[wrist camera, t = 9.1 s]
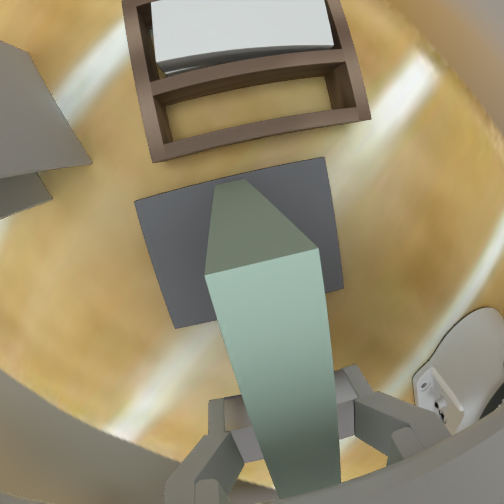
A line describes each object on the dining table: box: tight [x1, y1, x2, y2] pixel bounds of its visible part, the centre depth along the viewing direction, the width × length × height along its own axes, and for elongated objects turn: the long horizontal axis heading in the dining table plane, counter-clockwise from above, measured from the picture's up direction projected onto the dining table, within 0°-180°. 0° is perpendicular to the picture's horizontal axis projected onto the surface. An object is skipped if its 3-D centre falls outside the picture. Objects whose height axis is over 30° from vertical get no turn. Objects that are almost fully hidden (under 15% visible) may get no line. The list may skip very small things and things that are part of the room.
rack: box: [122, 0, 371, 163], centre depth 21 cm, size 13×16×5 cm
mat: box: [134, 157, 344, 329], centre depth 27 cm, size 12×16×1 cm
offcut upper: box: [151, 0, 334, 73], centre depth 19 cm, size 5×12×3 cm, turn 98°
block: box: [204, 179, 341, 499], centre depth 15 cm, size 2×12×16 cm, turn 12°
